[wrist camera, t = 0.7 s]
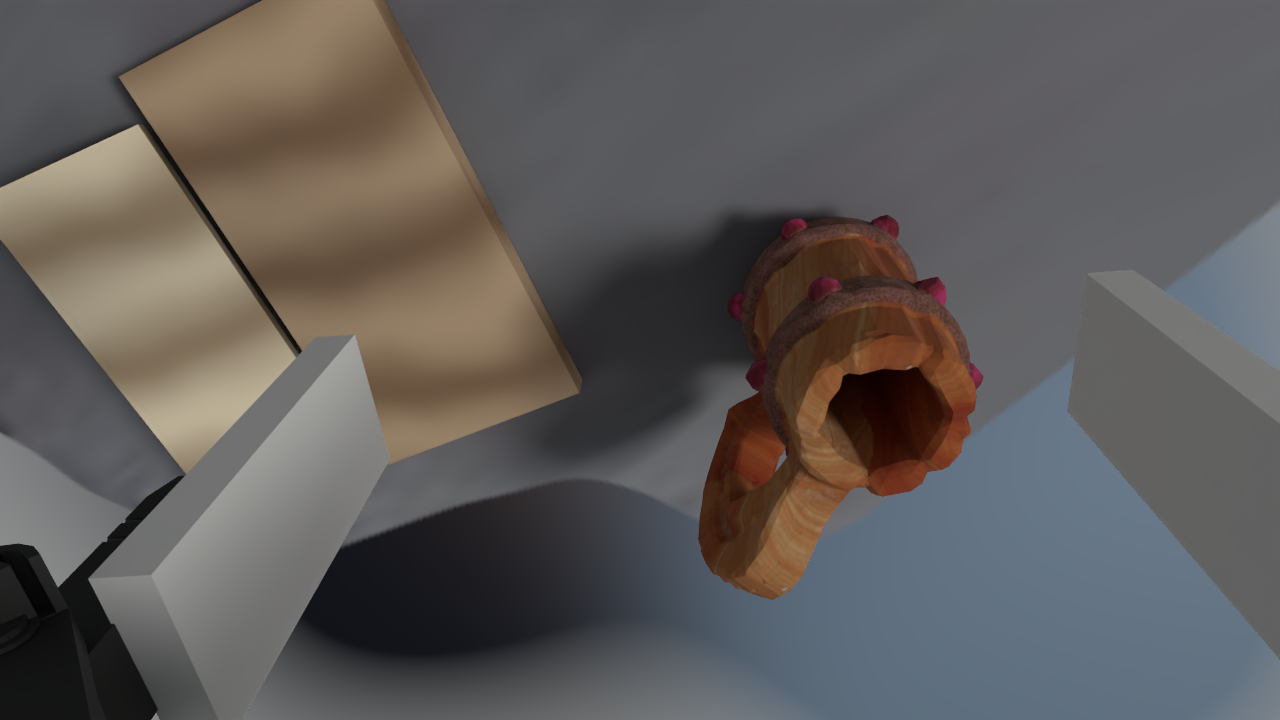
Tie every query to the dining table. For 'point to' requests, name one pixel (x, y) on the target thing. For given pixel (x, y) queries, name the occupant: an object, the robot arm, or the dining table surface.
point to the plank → (147, 288)
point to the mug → (831, 395)
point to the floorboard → (359, 211)
